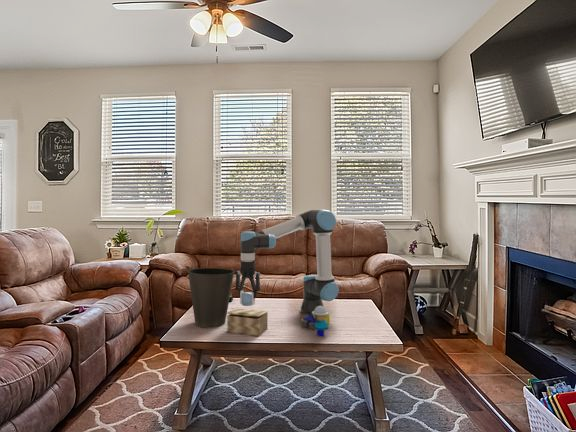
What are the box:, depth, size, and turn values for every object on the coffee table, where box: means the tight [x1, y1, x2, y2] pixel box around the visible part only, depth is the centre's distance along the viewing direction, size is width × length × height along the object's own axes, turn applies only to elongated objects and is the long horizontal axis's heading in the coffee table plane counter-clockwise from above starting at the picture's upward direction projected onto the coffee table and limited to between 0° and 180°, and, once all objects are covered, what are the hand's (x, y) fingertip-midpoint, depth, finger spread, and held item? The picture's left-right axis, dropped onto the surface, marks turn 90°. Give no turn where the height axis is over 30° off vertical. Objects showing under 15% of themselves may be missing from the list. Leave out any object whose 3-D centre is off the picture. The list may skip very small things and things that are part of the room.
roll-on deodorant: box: [241, 291, 253, 307], centre depth 195 cm, size 6×6×6 cm
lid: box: [227, 307, 268, 317], centre depth 195 cm, size 18×12×1 cm, turn 72°
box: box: [226, 313, 269, 338], centre depth 195 cm, size 18×12×9 cm, turn 72°
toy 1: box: [301, 310, 331, 330], centre depth 205 cm, size 14×7×15 cm
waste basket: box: [187, 267, 236, 329], centre depth 207 cm, size 27×20×30 cm
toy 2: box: [312, 306, 330, 337], centre depth 190 cm, size 8×9×15 cm
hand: (247, 303), depth 195 cm, fingers closed on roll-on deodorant, 6 cm apart
